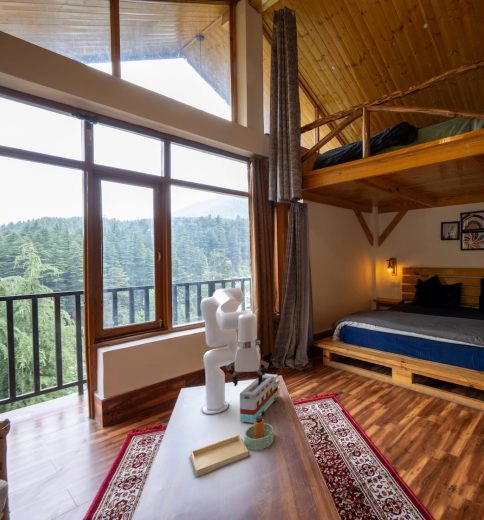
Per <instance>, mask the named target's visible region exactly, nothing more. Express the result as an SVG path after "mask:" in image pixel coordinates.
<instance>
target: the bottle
mask: <svg viewBox="0 0 484 520" xmlns="http://www.w3.org/2000/svg"><path fill="white" fill-rule="evenodd" d="M264 423H265V419H264V418H263V415H262V416H257V417H256V420H255V421H254V423H253V425H254V439H260V438H264Z"/></svg>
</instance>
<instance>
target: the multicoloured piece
mask: <svg viewBox="0 0 484 520" xmlns="http://www.w3.org/2000/svg"><path fill="white" fill-rule="evenodd" d="M278 377H279V375H278V374H274V373H273V374H272V373H264V374H262V382H261V384H260V385H258V377H257V378H256V379H255V380H254V381H253V382H252V383H250V384H249V385H248V386H247V387H245V388H244V389H243V390H242V391H241V392H239V421H240V422H243V423H250V424H254V421H255V420H256V417H257V416H262V417H263V416H264V415H265V412H266V411H267V410H268V408H269V407H270V406H271V405H272V404H275V403H276V401H277V398H278V397H279V396H280V393H281V392H280V391H281V389H280V387H279V385H280V383H281V382H280V380H281V379H279V378H278Z"/></svg>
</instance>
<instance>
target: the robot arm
mask: <svg viewBox="0 0 484 520" xmlns="http://www.w3.org/2000/svg"><path fill="white" fill-rule="evenodd" d="M244 296H245V295H244V291H243V290H242V289H241V288H239V287H226V288H219V289H216V290H215V291H214V292H213V293H212V296H209V297H205V298H203V299H202V300H201V301H200V303H199V304H200V307H199V308H200V312H201V315H202V317H203V320H204V333H205V344H206V346H207V347H209V348H213V349H209V350H208V351H206V352H205V353H204V354H203V358H202V359H203V365H204V373H205V375H204V376H205V404H204V405H202V412H203V413H204V414H206V415H215V414H219V413H222V412H224V411H226V410H227V409H228V408H229V403H228V402H227V400H226V375H225V372H224V370H222V369H221V367H224V366H225V368H226V370H227V371H228V373H229V374H230V375H231V376H232V383H233V384H234V385H233V386H234V387H237V385H238V384H239V375H238V373H250V372H251V373H252V372H256V373H257V374H258V376H257V378H258V385H260V384H261V382H262V375H264V374H265V373H266V371H267V370H268V367H269V365H270V363H269V362H267V361H265V360H263V359H261V348H260V345H261V343H262V342H261V341H262V340H259V339H258V317H257V314H255V313H253V312H252V311H250V310H239V307H240V305H241V304H242V303H243V302H244V298H245V297H244ZM238 310H239V311H238ZM225 345H227V346H225ZM219 346H220V347H219ZM221 346H224V347H221ZM215 347H217V348H215ZM218 347H219V348H218ZM261 365H263V366H264V367H263V368H261ZM232 367H234V369H233V368H232Z"/></svg>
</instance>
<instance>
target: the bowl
mask: <svg viewBox="0 0 484 520" xmlns="http://www.w3.org/2000/svg"><path fill="white" fill-rule="evenodd" d="M273 443H274V427H273V426H272V424H269V423H265V422H264V438H260V439H254V424H253V425H250V426H249V427H248V428H247V429H246V430H245V431H244V444H245V446H246V448H247V449H248V450H250V451H260V450H261V451H262V450H264V449H267V448H268V447H270V446H271V445H272V444H273Z"/></svg>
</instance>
